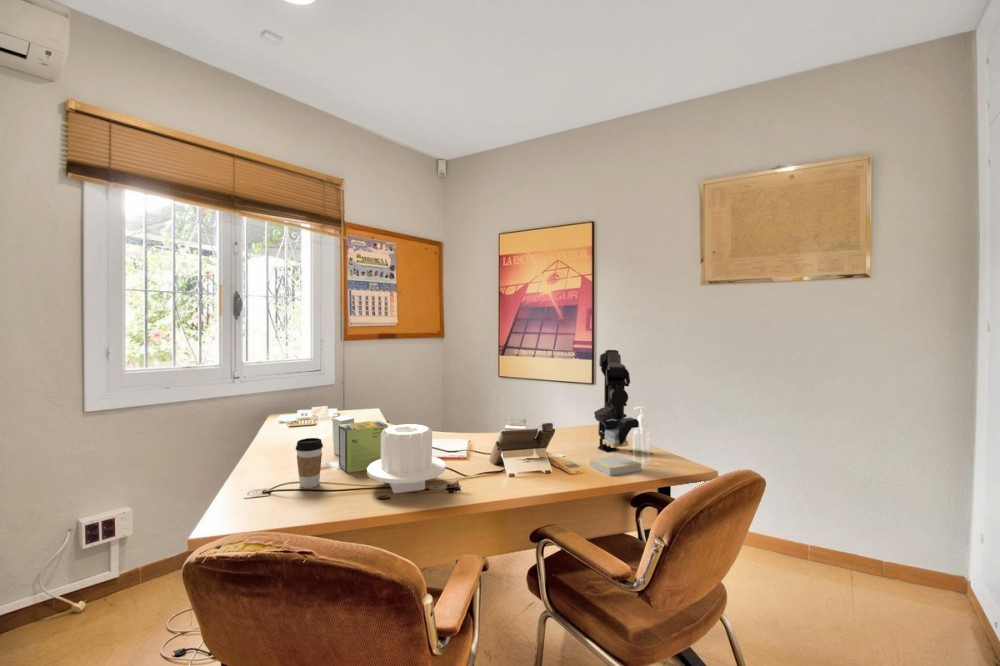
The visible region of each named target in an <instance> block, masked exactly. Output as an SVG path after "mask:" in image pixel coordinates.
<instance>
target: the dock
mask: <svg viewBox="0 0 1000 666" xmlns="http://www.w3.org/2000/svg"><path fill="white" fill-rule="evenodd" d="M589 466H590V467H592V468H594V469H596V470H597V471H600V472H601V473H603V474H606V475H607V476H609V477H611V476H617V475H622V474H630V473H636V472H641V471H642V462H638V461H635V460H633V459H631V458H628V457H625V456H624V455H620V454H617V455H611V456H610V455H609V456H604V457H597V458H589Z"/></svg>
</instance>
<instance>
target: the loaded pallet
mask: <svg viewBox="0 0 1000 666" xmlns="http://www.w3.org/2000/svg"><path fill="white" fill-rule="evenodd" d="M603 444H607V446H611V447H612V448H616V447H617V448H621V447H622V448H623V447H628V446H629V441H627V437H626V438H625V440H624V442H623V444H620V443H619V430H618V429H610V430H605V439H604V440H603Z"/></svg>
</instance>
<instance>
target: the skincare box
mask: <svg viewBox="0 0 1000 666" xmlns="http://www.w3.org/2000/svg"><path fill="white" fill-rule="evenodd" d="M331 419H332V438H333V439H332V440H333V441H332V442H333V443H332V444H333V454H334V455H336V456H339V425H343V424H351V423H355V418H354V417H350V416H348V415H341V416H337V417H336V416H335V417H332V418H331Z"/></svg>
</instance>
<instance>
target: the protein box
mask: <svg viewBox="0 0 1000 666" xmlns="http://www.w3.org/2000/svg"><path fill="white" fill-rule="evenodd" d="M388 426H389V425H388V424H387V423H384V422H383V421H381V420H379V419H374V420H369V421H367V420H366V421H359V422H354V423H351V424H343V425H339V455H338V466H339V467H340V469H342V470H343V471H344V472H345V473H346V474H350V473H357V472H361V471H367V467H368V466H369V465H370V464H371V463H373V462H375V461H377V460H379V459H381V433H382V431H383V430H384V429H385V428H388Z"/></svg>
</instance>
